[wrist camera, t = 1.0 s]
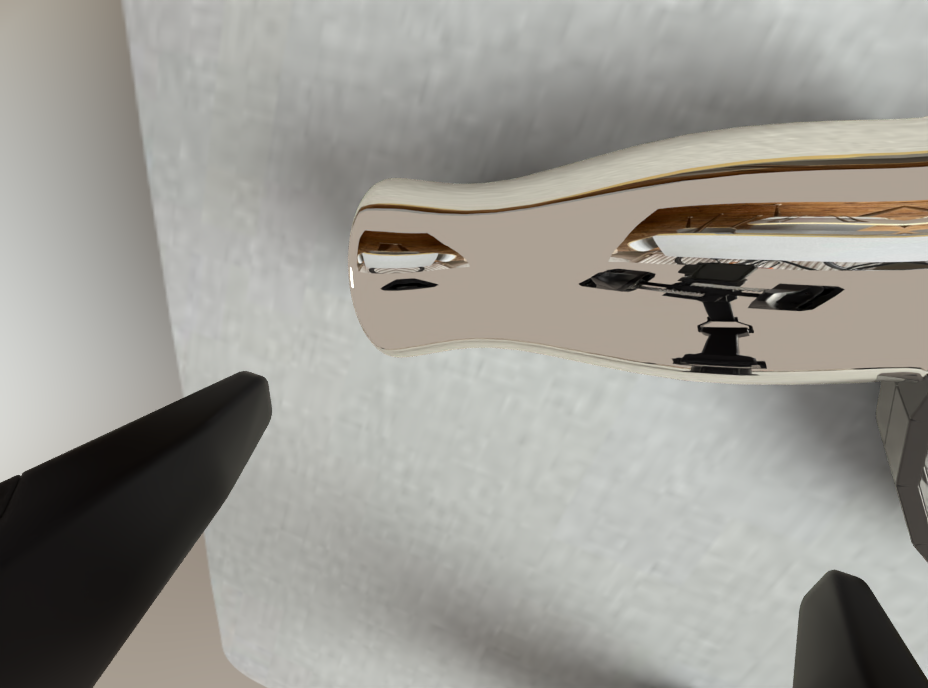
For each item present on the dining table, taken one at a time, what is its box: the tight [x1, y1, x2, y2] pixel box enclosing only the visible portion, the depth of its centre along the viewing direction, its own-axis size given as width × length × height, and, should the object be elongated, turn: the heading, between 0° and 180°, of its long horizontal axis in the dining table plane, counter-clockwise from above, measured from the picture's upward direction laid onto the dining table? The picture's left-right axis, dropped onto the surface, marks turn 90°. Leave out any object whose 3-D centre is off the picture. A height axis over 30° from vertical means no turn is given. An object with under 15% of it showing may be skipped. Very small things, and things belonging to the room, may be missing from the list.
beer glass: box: [348, 116, 928, 385], centre depth 18 cm, size 7×7×15 cm
